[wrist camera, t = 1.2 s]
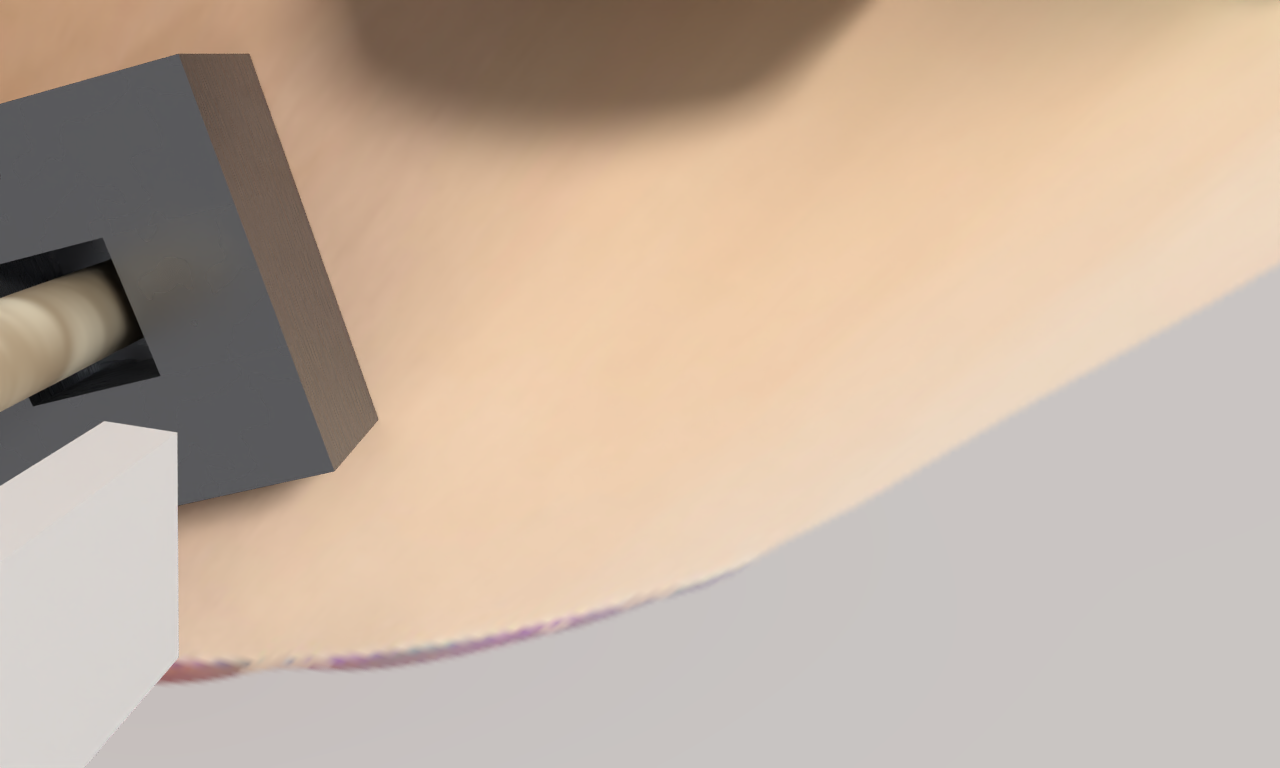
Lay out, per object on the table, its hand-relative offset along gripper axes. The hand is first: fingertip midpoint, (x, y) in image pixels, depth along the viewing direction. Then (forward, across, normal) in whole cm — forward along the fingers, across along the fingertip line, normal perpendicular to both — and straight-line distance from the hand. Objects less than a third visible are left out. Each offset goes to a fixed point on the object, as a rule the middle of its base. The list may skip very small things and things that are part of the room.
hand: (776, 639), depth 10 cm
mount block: (+26, -21, -6) cm, 34 cm away
